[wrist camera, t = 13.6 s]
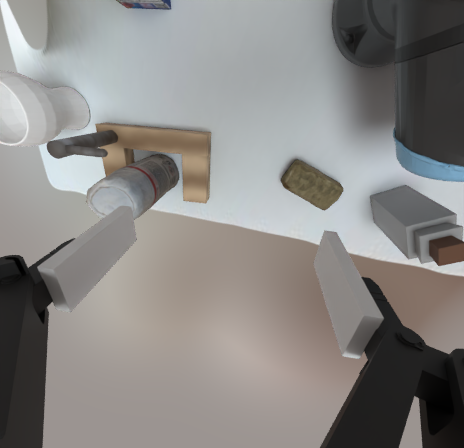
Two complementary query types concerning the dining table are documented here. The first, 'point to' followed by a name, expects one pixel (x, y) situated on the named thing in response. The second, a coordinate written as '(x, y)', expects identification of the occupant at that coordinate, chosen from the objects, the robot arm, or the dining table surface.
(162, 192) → the spray can
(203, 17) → the dining table surface
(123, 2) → the juice carton
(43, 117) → the cup
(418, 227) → the perfume bottle
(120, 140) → the wooden stand
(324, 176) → the stone block
